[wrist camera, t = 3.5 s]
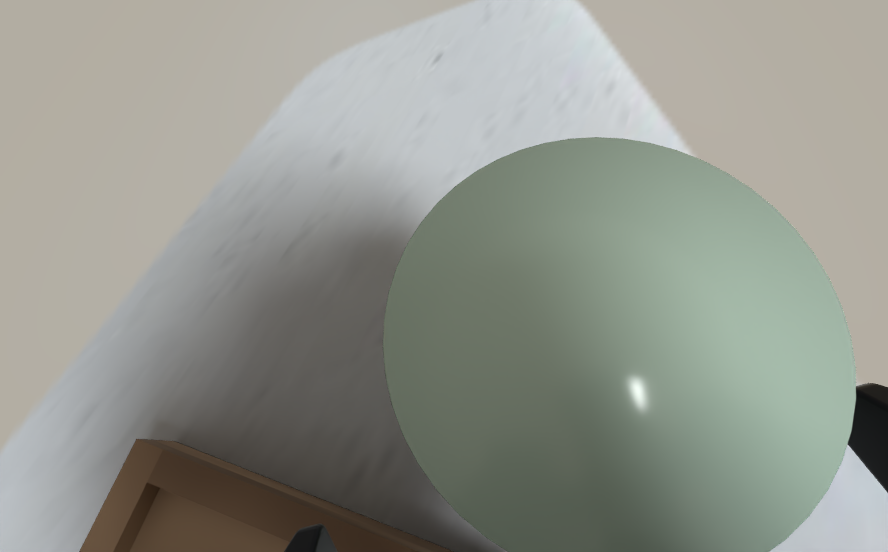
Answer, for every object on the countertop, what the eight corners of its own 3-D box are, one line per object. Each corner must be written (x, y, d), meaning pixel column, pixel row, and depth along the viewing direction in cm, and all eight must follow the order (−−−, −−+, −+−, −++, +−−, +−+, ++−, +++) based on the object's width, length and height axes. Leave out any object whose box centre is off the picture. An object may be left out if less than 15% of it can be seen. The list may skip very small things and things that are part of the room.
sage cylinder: (578, 516, 16) (837, 684, 4) (439, 466, 16) (314, 480, 5) (609, 376, 17) (869, 188, 5) (480, 337, 18) (460, 102, 6)
